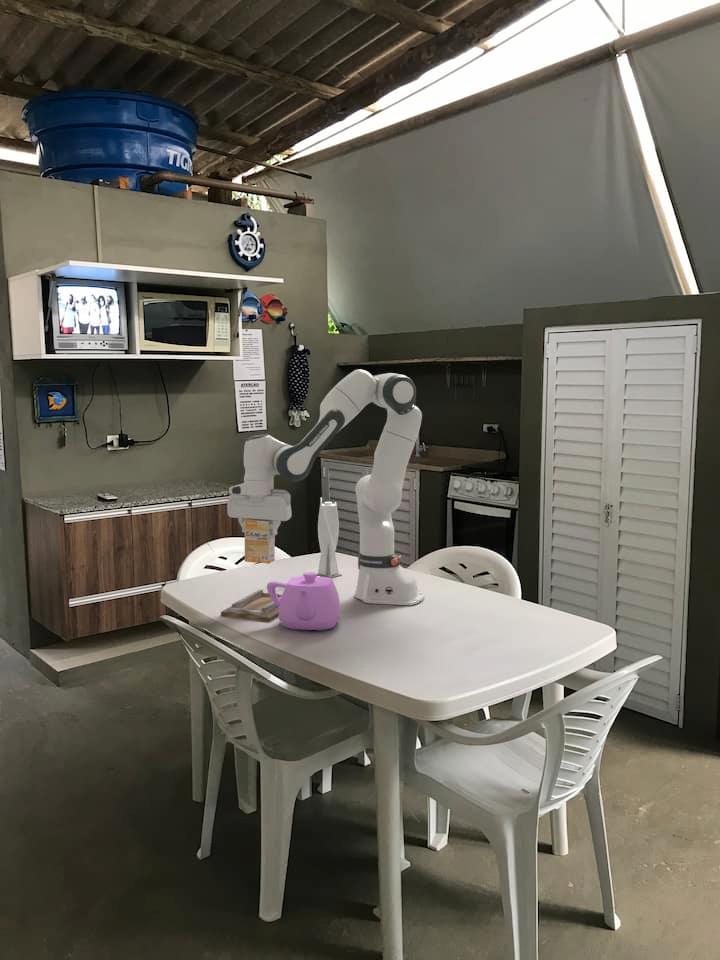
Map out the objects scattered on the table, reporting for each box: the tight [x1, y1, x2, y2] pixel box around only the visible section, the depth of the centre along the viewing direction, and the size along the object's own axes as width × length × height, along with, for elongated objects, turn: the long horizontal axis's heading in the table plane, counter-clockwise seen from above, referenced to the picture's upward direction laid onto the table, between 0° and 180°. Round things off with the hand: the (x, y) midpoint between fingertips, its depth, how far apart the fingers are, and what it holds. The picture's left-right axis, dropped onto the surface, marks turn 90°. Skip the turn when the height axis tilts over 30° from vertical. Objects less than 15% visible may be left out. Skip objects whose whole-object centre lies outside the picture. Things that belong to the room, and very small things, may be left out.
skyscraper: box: [316, 497, 343, 579], centre depth 275 cm, size 8×8×28 cm
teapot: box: [266, 571, 342, 632], centre depth 215 cm, size 23×21×15 cm
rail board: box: [220, 589, 283, 623], centre depth 234 cm, size 16×22×3 cm
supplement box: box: [244, 518, 276, 565], centre depth 234 cm, size 8×5×13 cm, turn 72°
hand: (259, 533), depth 234 cm, fingers closed on supplement box, 8 cm apart
